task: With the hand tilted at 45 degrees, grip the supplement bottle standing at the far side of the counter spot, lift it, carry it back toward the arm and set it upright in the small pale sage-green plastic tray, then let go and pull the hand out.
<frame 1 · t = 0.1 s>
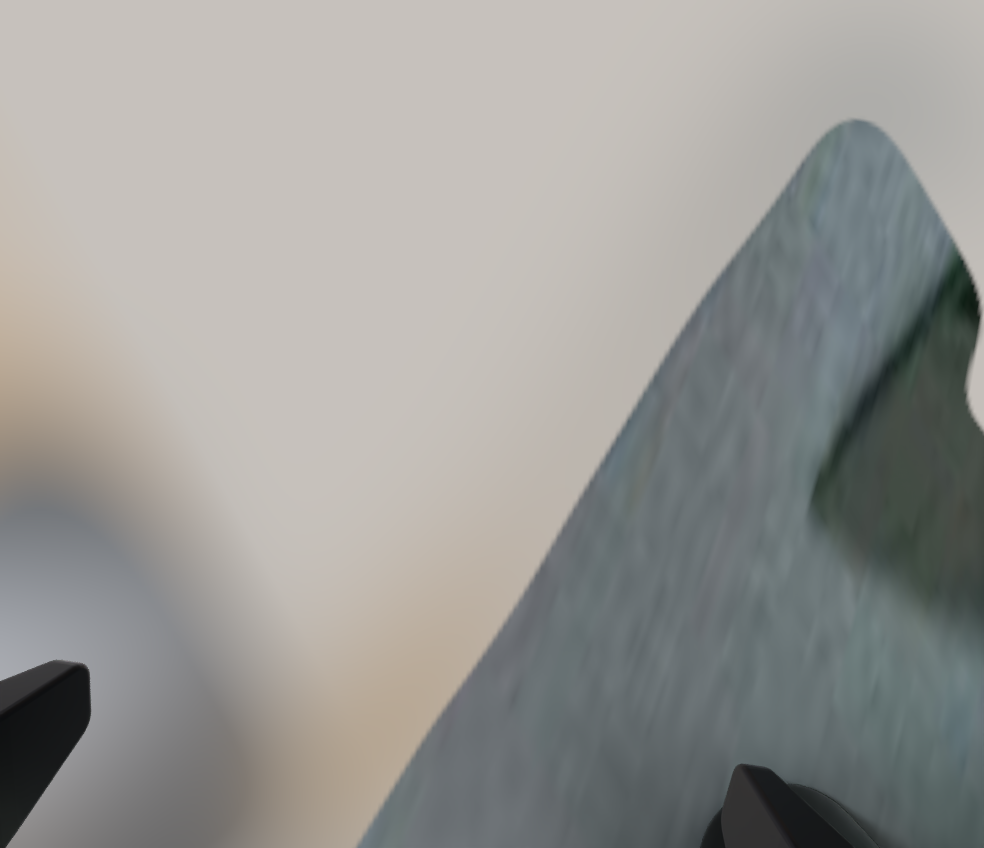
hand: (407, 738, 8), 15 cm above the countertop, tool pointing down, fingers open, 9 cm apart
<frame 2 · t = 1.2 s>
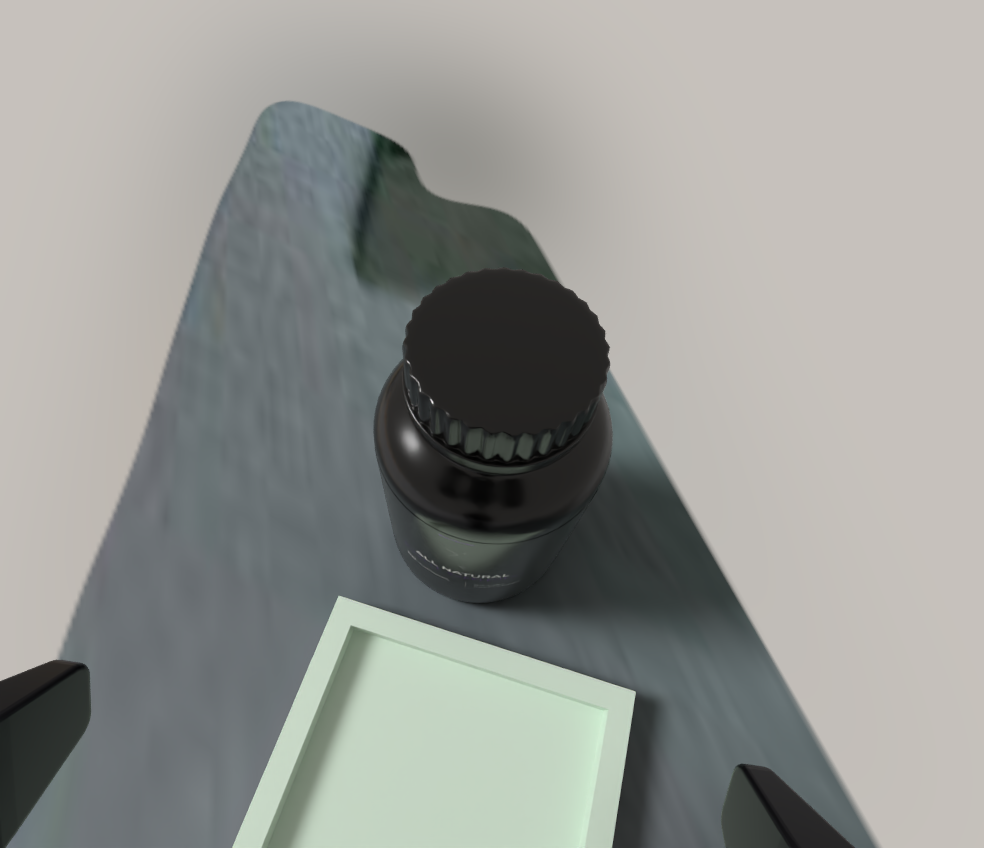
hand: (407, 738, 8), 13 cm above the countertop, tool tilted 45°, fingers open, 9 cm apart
supplement bottle: (479, 523, 24), on the countertop
sage tray: (433, 818, 18), on the countertop
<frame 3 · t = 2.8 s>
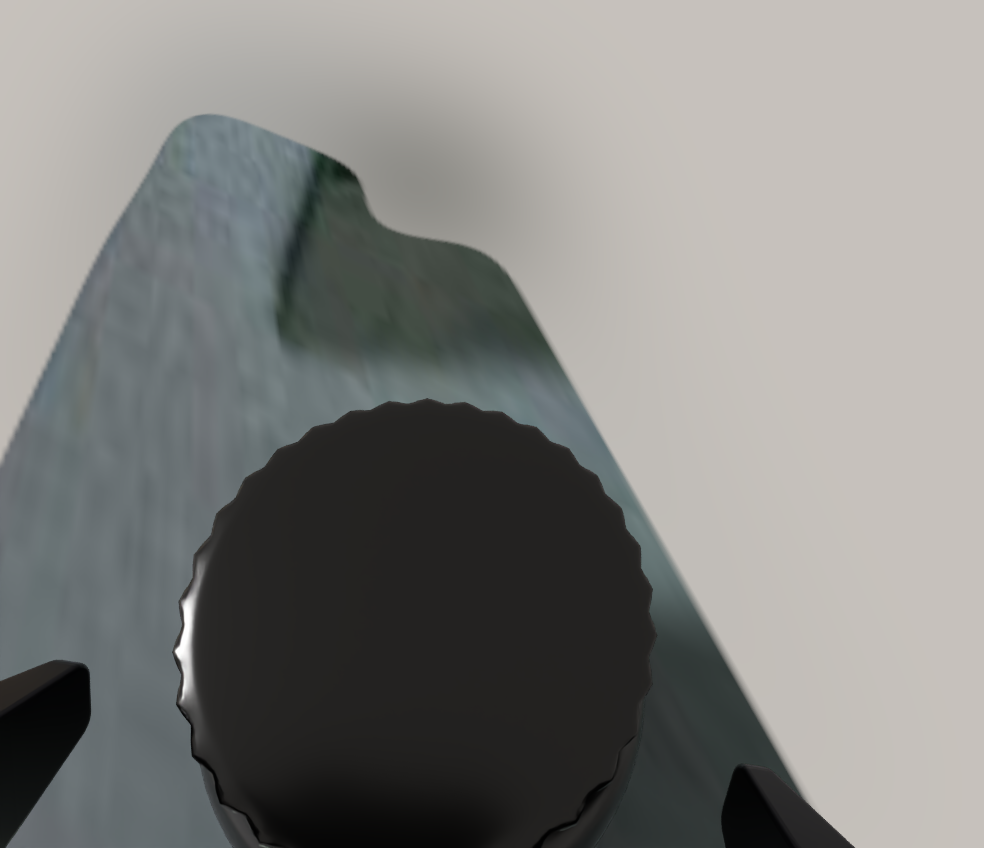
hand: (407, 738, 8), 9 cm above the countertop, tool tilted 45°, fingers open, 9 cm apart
supplement bottle: (435, 708, 16), on the countertop
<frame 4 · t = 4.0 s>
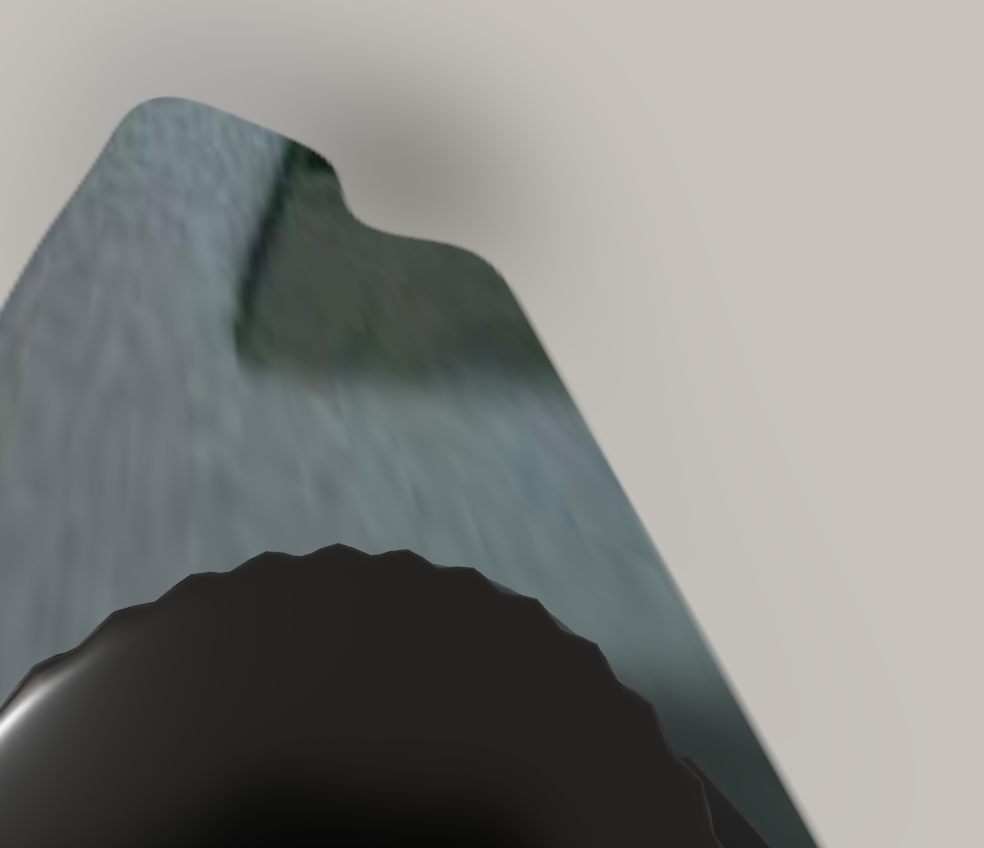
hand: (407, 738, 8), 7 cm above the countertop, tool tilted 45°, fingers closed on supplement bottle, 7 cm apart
supplement bottle: (411, 821, 13), on the countertop, touching gripper
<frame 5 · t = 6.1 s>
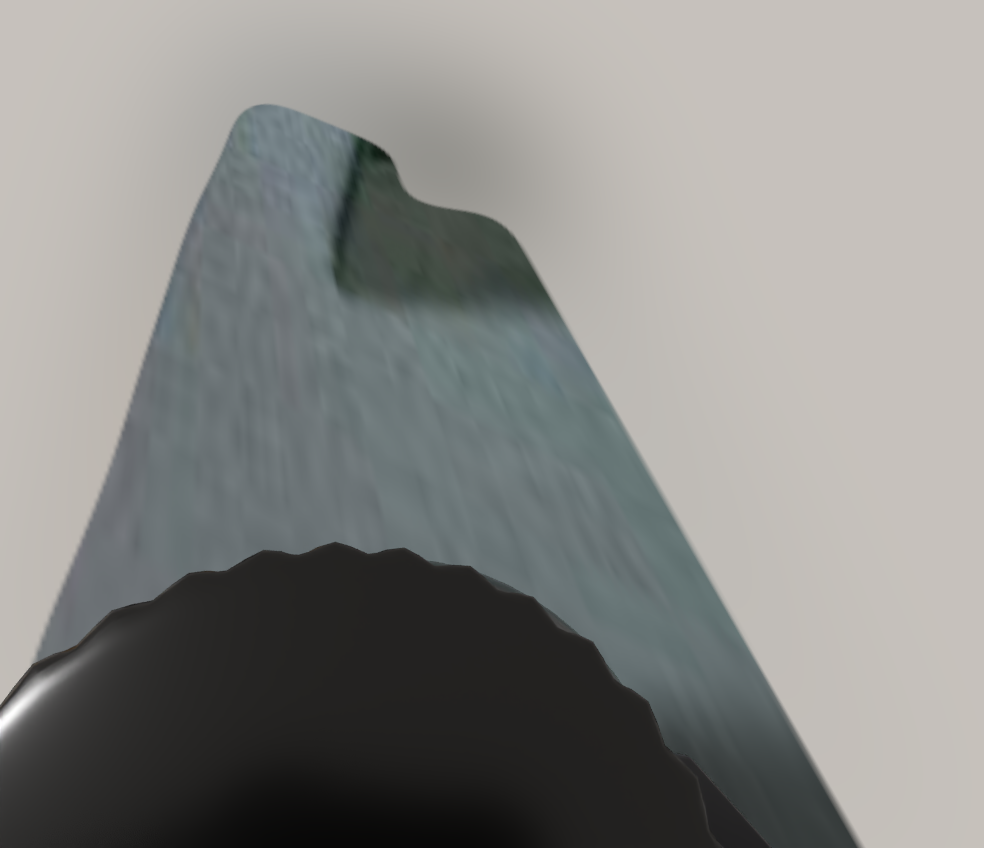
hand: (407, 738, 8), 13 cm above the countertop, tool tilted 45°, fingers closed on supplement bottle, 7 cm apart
supplement bottle: (413, 817, 13), point 6 cm above the countertop, touching gripper
when the fingers open (8 cm above the countertop, at t = 8.2 s): supplement bottle stays where it is, resting on sage tray.
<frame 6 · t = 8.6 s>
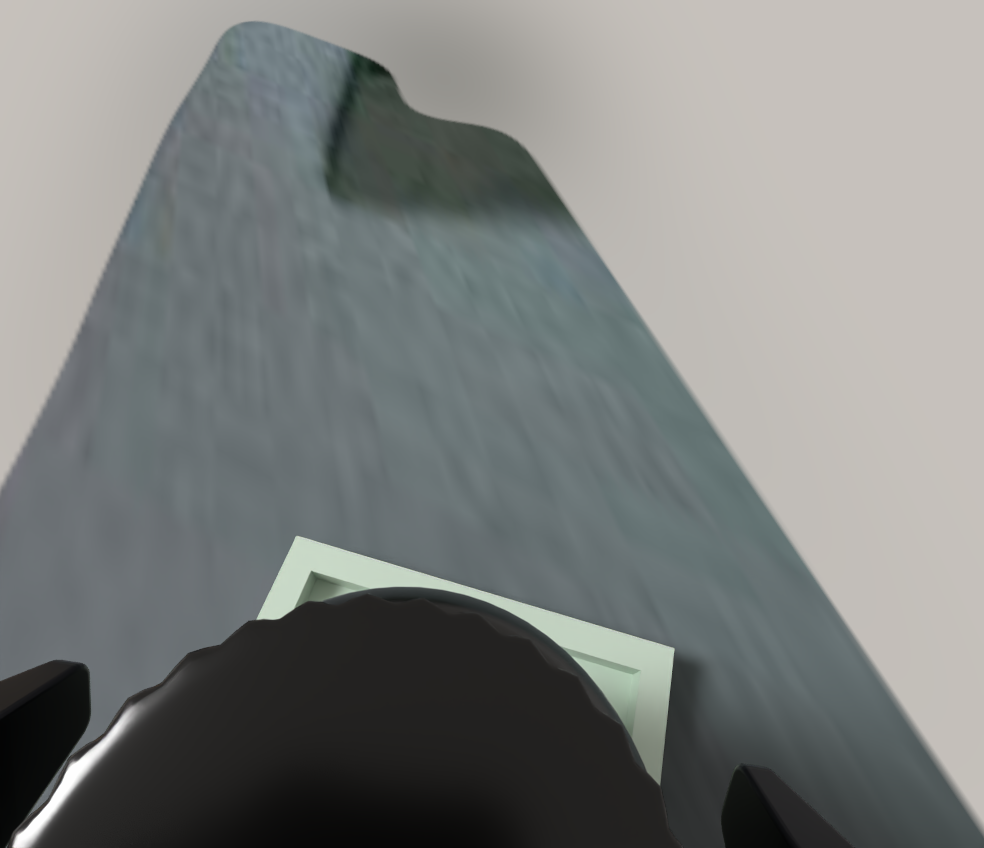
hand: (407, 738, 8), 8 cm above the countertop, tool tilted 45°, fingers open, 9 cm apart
supplement bottle: (417, 819, 14), resting on sage tray
sage tray: (416, 816, 14), on the countertop
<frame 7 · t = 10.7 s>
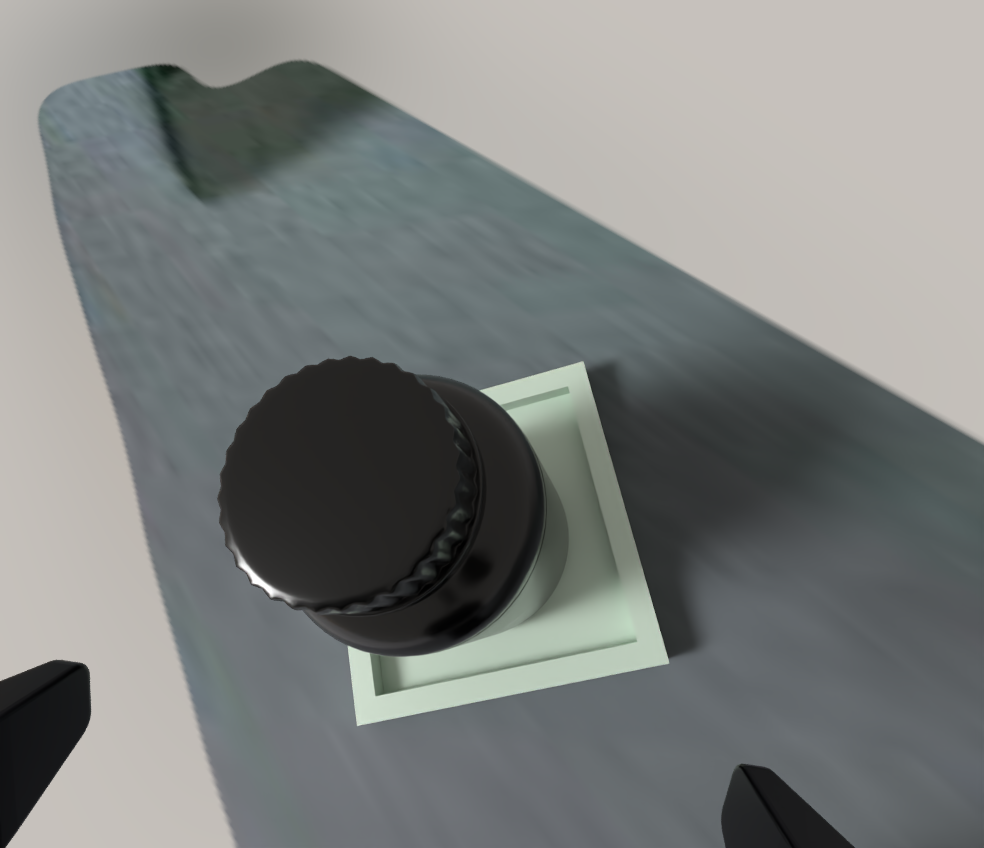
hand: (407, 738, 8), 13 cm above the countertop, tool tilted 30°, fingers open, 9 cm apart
supplement bottle: (483, 538, 22), resting on sage tray
sage tray: (483, 538, 22), on the countertop
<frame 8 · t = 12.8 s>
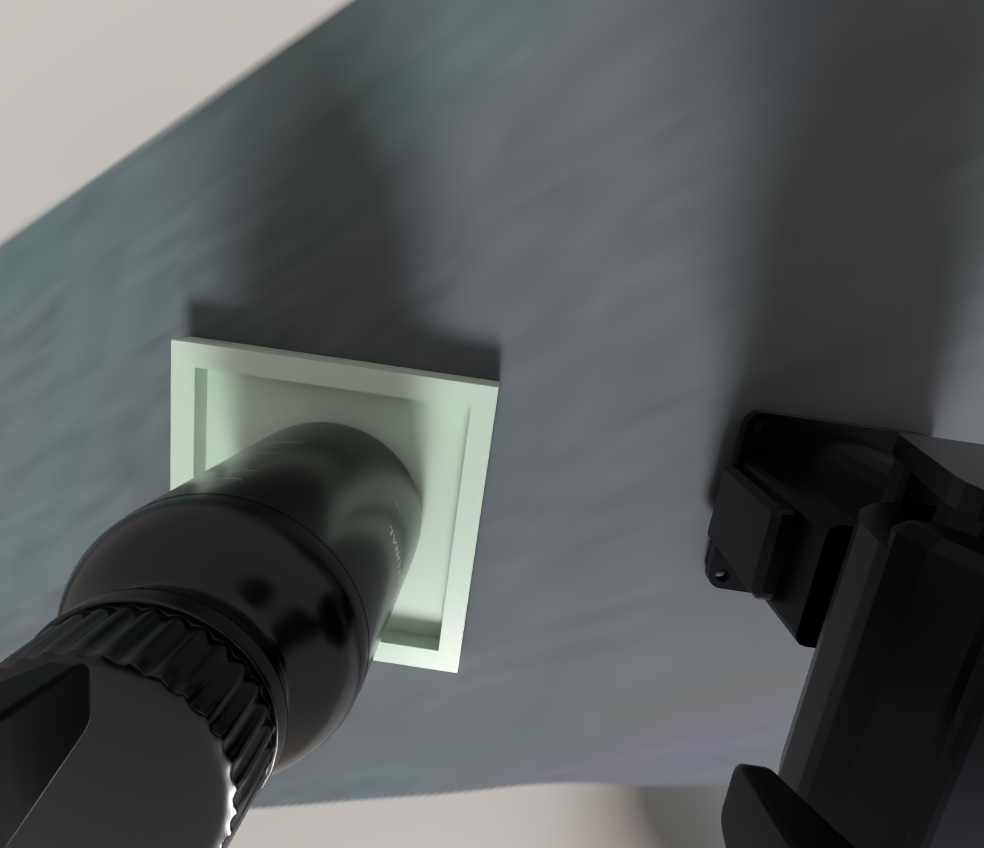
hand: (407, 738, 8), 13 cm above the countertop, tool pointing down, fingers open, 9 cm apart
supplement bottle: (333, 504, 21), resting on sage tray
sage tray: (333, 503, 21), on the countertop
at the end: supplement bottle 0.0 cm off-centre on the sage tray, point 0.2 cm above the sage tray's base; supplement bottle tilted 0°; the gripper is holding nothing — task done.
